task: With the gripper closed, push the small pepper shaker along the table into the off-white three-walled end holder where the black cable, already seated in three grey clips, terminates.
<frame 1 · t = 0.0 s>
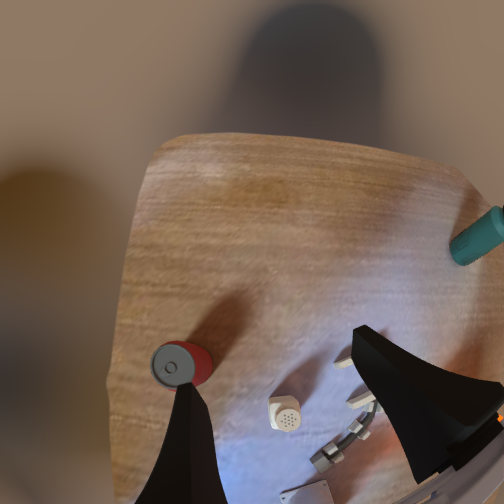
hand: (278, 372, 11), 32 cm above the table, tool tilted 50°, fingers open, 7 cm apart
beer can: (192, 365, 41), on the table
pepper shaker: (280, 407, 39), on the table
clips: (356, 430, 36), on the table
cable route: (348, 434, 36), on the table
beverage bottle: (455, 254, 48), on the table
end holder: (362, 375, 40), on the table
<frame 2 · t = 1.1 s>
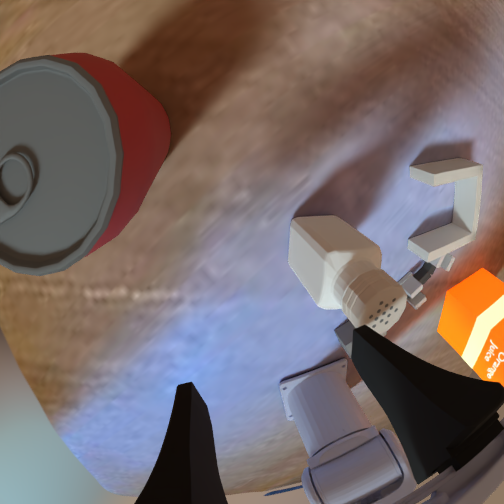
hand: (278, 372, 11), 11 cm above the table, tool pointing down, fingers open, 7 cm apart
beer can: (120, 137, 15), on the table
pepper shaker: (310, 237, 21), on the table
orange juice: (460, 299, 32), on the table
clips: (409, 290, 25), on the table
cable route: (399, 296, 25), on the table
end holder: (437, 201, 23), on the table
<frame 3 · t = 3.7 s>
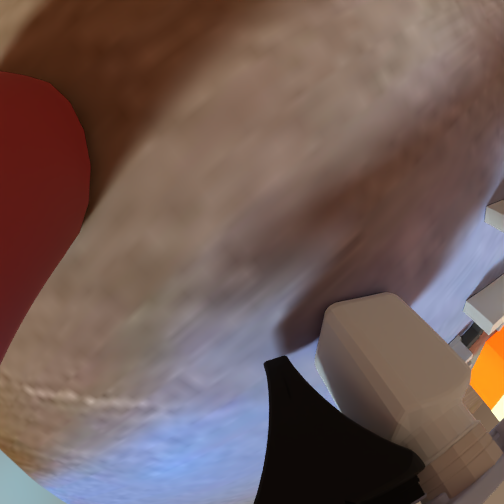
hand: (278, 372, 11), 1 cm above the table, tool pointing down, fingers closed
beer can: (16, 175, 7), on the table
pepper shaker: (349, 323, 13), on the table, touching gripper
orange juice: (494, 344, 23), on the table
clips: (455, 358, 17), on the table
cable route: (443, 368, 17), on the table
end holder: (502, 247, 14), on the table
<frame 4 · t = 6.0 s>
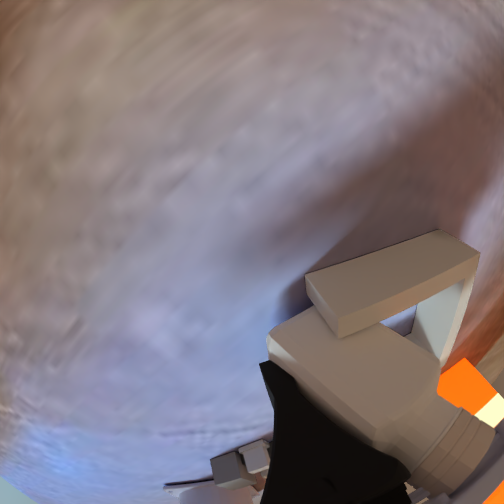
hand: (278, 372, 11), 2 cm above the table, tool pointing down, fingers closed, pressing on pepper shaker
pepper shaker: (297, 338, 13), on the table, touching gripper
orange juice: (426, 396, 23), on the table
clips: (320, 430, 16), on the table
cable route: (300, 439, 16), on the table
end holder: (378, 314, 14), on the table
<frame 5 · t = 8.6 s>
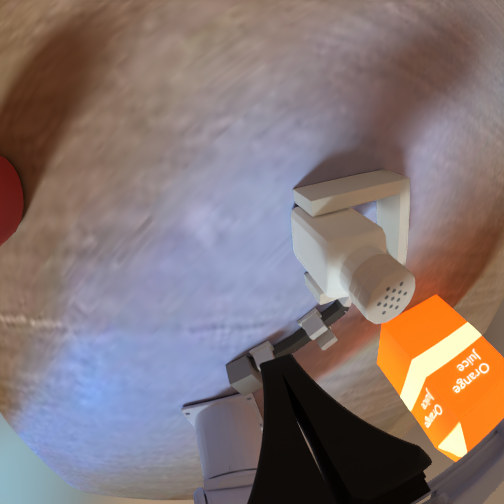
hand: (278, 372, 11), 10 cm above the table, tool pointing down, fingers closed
pepper shaker: (313, 225, 21), on the table
orange juice: (406, 329, 30), on the table
clips: (313, 329, 24), on the table
cable route: (298, 336, 24), on the table
end holder: (346, 226, 21), on the table
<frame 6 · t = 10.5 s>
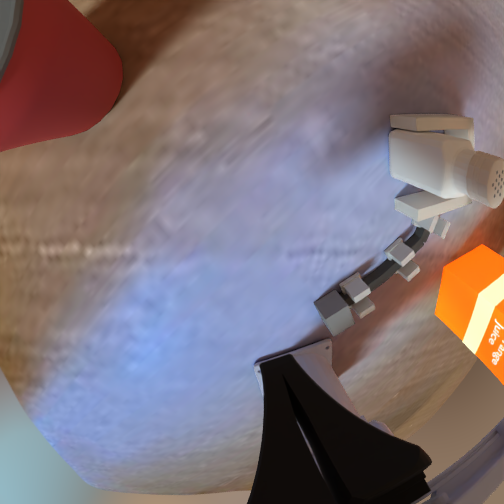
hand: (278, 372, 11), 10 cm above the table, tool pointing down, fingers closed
beer can: (77, 85, 13), on the table
pepper shaker: (402, 151, 20), on the table
orange juice: (459, 278, 29), on the table
clips: (400, 258, 23), on the table
cable route: (388, 265, 23), on the table
end holder: (425, 158, 20), on the table
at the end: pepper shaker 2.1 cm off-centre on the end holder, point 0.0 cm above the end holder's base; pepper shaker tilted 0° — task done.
